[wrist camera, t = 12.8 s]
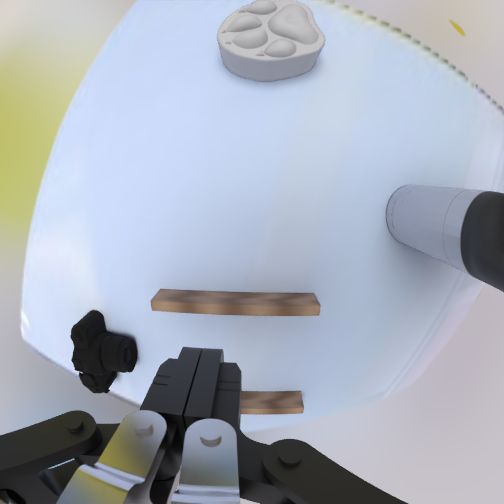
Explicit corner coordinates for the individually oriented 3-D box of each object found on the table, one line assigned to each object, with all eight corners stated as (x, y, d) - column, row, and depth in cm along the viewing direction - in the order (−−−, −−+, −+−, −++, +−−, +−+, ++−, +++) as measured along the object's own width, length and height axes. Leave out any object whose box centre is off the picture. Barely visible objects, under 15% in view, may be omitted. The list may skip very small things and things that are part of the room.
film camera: (145, 381, 45) (129, 412, 36) (102, 372, 45) (82, 399, 36) (131, 310, 41) (107, 337, 32) (85, 304, 41) (57, 327, 32)
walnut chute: (313, 293, 40) (320, 305, 36) (299, 396, 45) (302, 413, 41) (160, 289, 40) (150, 300, 36) (175, 391, 45) (169, 407, 41)
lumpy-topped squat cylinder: (320, 72, 32) (336, 47, 24) (233, 91, 33) (227, 67, 25) (296, 20, 30) (305, -11, 22) (214, 37, 31) (205, 7, 23)
